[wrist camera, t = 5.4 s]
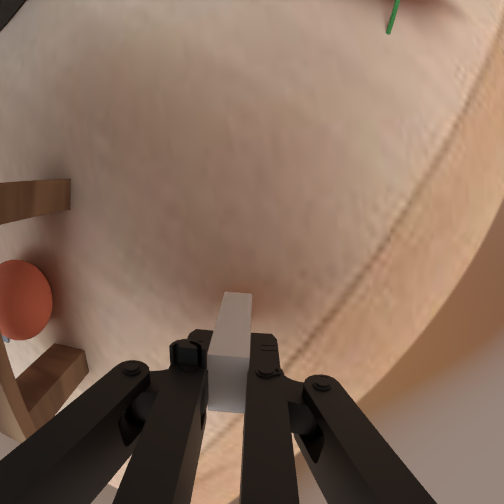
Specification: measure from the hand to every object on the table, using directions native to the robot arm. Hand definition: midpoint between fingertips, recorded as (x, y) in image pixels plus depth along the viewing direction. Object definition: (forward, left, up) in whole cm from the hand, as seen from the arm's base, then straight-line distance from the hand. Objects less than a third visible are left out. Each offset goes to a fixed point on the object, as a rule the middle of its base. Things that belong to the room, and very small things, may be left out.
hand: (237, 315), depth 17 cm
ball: (+1, -15, +1) cm, 15 cm away
